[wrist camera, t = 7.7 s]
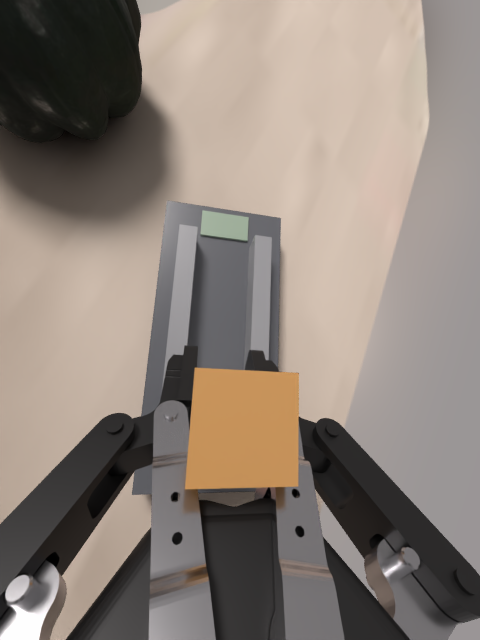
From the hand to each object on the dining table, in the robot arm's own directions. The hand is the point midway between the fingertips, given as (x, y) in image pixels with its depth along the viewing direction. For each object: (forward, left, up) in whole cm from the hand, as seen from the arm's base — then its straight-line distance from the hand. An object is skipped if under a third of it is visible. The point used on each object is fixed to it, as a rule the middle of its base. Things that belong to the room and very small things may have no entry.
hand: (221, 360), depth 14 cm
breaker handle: (+2, -1, -4) cm, 4 cm away
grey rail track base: (-2, +1, -6) cm, 7 cm away
